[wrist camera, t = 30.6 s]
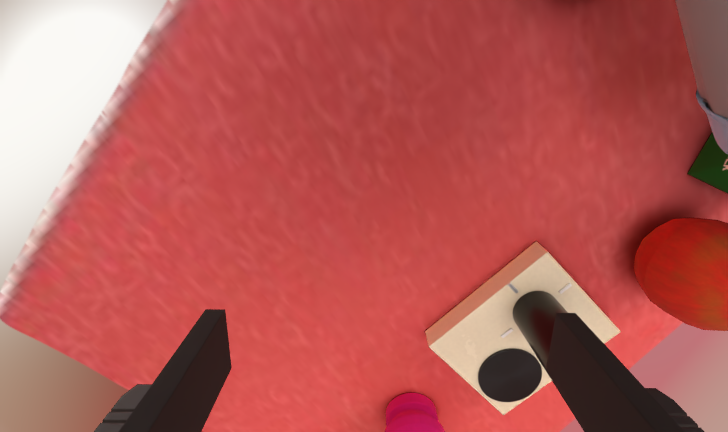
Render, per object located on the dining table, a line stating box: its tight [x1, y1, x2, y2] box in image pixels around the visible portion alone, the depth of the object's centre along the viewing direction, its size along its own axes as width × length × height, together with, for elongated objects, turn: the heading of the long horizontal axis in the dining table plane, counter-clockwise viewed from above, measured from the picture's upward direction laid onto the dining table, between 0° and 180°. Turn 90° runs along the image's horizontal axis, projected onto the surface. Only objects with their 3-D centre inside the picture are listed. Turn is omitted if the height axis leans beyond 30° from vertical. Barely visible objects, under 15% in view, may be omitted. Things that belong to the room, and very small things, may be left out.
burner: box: [478, 348, 542, 402], centre depth 45 cm, size 7×7×1 cm
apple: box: [634, 218, 728, 331], centre depth 38 cm, size 10×10×12 cm
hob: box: [425, 241, 621, 415], centre depth 45 cm, size 16×13×3 cm
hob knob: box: [513, 291, 568, 377], centre depth 38 cm, size 5×5×9 cm
